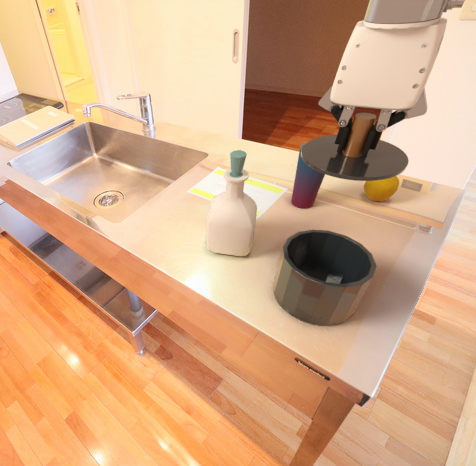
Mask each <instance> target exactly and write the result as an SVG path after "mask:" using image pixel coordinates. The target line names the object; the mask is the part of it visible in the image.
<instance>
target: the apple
mask: <svg viewBox="0 0 476 466" xmlns="http://www.w3.org/2000/svg"><path fill="white" fill-rule="evenodd" d="M364 182H365V183H364V184H363V185H364V186H363V191H364V194H365V195H364V196H365V197H366V198H368V199H369V200H370V201H373V202H384V201H386V200H388V199H390V198H391V197H392V196H394V195H395V194H396V193H397V191H398V189H399V186H400V179H399V178H398V175H397V176H395V177H392V178H388V179H383V180H375V181H364Z"/></svg>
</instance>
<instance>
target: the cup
mask: <svg viewBox="0 0 476 466" xmlns="http://www.w3.org/2000/svg"><path fill="white" fill-rule="evenodd" d="M306 143H307V142H304V143H302V144H301V145H300V146H299V152H298V157H297V165H296V169H295V174H294V175H295V176H294V182H293V189H292V194H291V200H290V204H291V205H293V206H294V207H295V208H299V209H304V210H305V209H309V208H312V207H313V206H314V203H315V201H316V199H317V196H318V193H319V191H320V189H321V187H322V183H323V181H324V178H325V177H326V174H323V173H320V172H318V171H316V170H314V169H312V168H311V167H309V166H308V165H307V164H306V163H305V162H304V161H303V160H302V157H301V150H302V148H303V146H304V145H305V144H306Z"/></svg>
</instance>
